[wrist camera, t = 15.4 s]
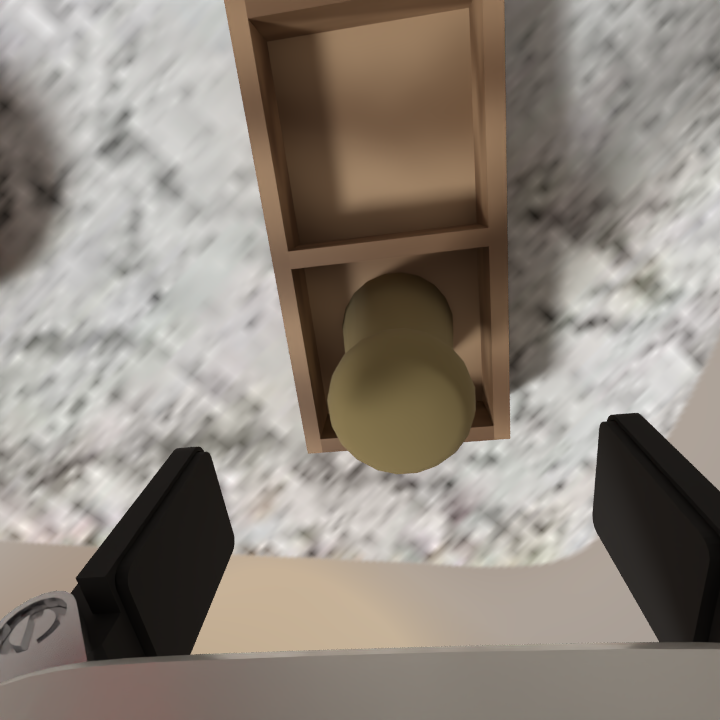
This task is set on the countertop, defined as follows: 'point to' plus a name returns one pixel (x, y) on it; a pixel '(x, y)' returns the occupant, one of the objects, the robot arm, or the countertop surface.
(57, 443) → the countertop surface
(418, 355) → the cork
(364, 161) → the wooden divided tray
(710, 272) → the countertop surface
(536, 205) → the countertop surface
